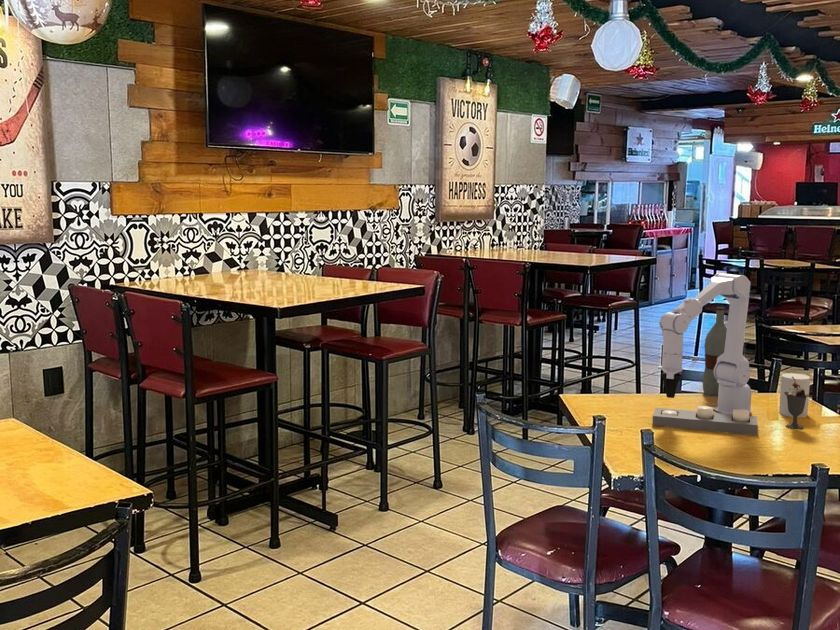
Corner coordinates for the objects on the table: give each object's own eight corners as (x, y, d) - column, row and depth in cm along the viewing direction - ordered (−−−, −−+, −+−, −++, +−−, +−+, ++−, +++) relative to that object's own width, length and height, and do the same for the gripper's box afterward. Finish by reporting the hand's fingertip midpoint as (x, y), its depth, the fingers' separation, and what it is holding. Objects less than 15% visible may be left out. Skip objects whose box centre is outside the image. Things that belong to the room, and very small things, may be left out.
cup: (794, 409, 266) (796, 372, 264) (813, 415, 258) (816, 378, 257) (773, 411, 264) (775, 374, 262) (792, 418, 256) (794, 380, 254)
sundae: (784, 422, 251) (788, 374, 248) (808, 426, 247) (812, 377, 245) (779, 428, 245) (783, 378, 243) (804, 431, 241) (807, 381, 239)
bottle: (735, 396, 283) (740, 308, 278) (710, 397, 281) (715, 309, 277) (721, 389, 292) (725, 305, 287) (696, 390, 291) (701, 305, 286)
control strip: (655, 417, 257) (655, 407, 257) (756, 426, 247) (756, 416, 247) (652, 425, 248) (652, 415, 247) (757, 435, 238) (757, 425, 237)
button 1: (662, 419, 254) (662, 409, 253) (677, 420, 252) (677, 411, 252) (661, 423, 250) (661, 413, 249) (676, 424, 248) (676, 414, 248)
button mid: (697, 415, 250) (697, 405, 249) (712, 416, 248) (713, 406, 248) (696, 418, 246) (697, 409, 245) (712, 420, 244) (712, 410, 244)
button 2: (732, 418, 246) (733, 408, 246) (748, 419, 245) (749, 409, 244) (732, 422, 242) (733, 412, 242) (748, 423, 241) (749, 413, 240)
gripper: (660, 347, 256) (658, 390, 258) (656, 356, 242) (654, 401, 244) (684, 349, 253) (682, 392, 255) (681, 358, 240) (679, 404, 242)
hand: (670, 397), depth 250 cm, fingers closed
